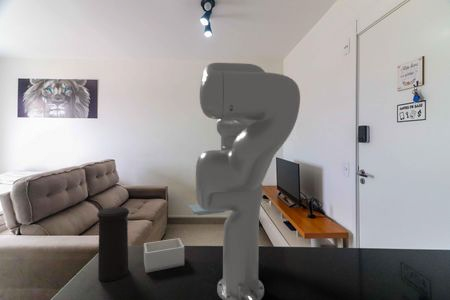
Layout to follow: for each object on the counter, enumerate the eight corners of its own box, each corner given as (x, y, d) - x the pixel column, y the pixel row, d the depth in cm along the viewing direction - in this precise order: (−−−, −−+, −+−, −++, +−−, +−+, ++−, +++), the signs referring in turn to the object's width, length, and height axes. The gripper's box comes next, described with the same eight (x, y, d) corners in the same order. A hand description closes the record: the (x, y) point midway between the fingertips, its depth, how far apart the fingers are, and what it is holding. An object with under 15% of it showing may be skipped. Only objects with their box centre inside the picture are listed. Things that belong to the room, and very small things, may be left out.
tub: (184, 265, 77) (184, 247, 77) (145, 272, 72) (145, 253, 72) (179, 254, 84) (179, 238, 84) (143, 260, 80) (143, 243, 80)
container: (134, 267, 76) (134, 205, 75) (119, 283, 67) (118, 213, 66) (109, 265, 76) (108, 204, 76) (90, 281, 68) (89, 212, 67)
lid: (239, 212, 82) (239, 189, 82) (194, 217, 76) (194, 192, 76) (229, 205, 91) (229, 185, 91) (187, 210, 85) (187, 188, 84)
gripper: (251, 152, 80) (250, 206, 80) (231, 151, 95) (231, 196, 95) (231, 153, 77) (230, 209, 77) (214, 151, 92) (213, 198, 92)
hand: (231, 201), depth 86 cm, fingers closed on lid, 3 cm apart
